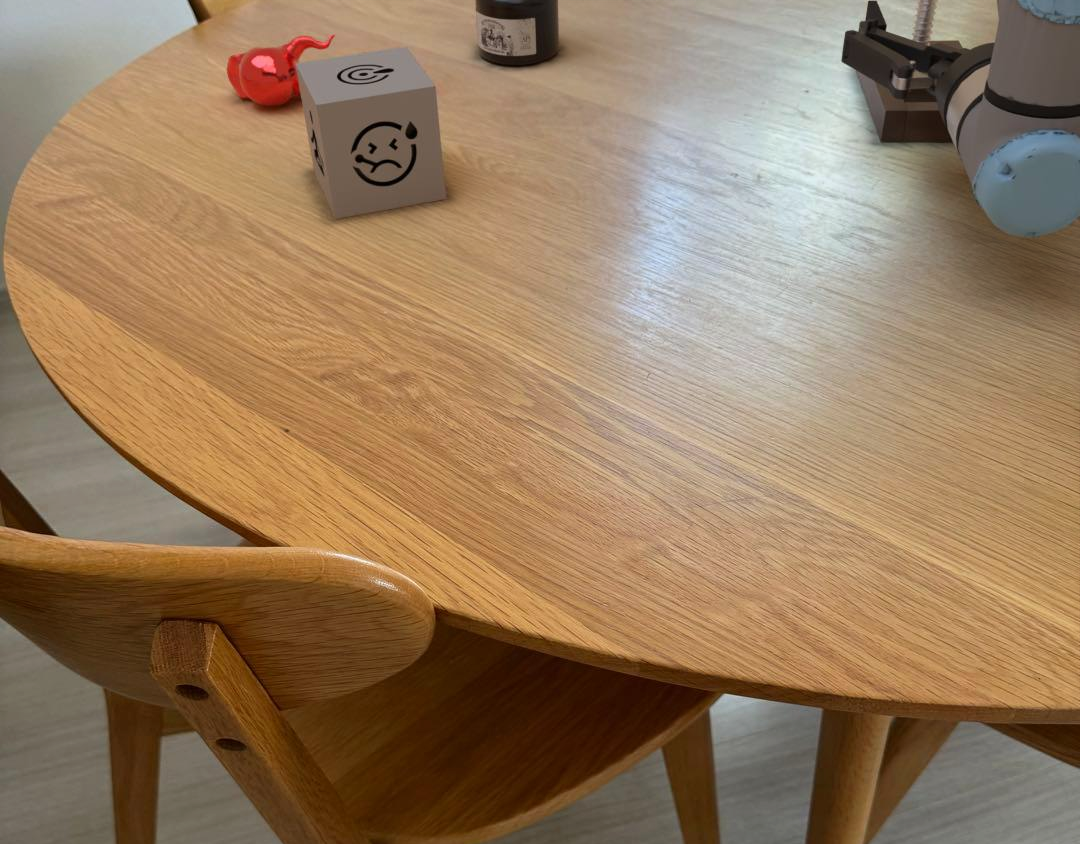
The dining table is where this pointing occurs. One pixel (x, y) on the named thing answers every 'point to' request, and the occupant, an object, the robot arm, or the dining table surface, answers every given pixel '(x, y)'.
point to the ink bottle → (517, 30)
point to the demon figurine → (270, 71)
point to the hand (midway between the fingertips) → (945, 15)
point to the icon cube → (372, 131)
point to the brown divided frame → (906, 111)
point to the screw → (924, 21)
